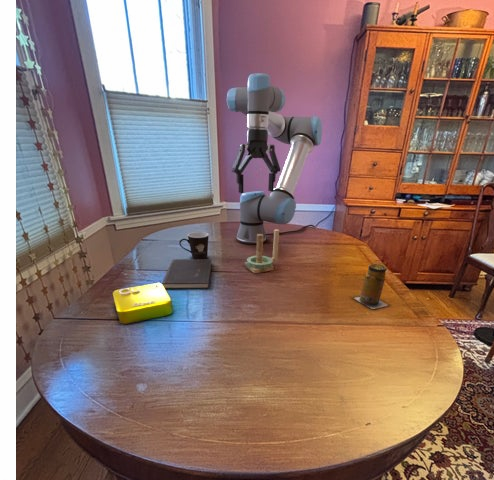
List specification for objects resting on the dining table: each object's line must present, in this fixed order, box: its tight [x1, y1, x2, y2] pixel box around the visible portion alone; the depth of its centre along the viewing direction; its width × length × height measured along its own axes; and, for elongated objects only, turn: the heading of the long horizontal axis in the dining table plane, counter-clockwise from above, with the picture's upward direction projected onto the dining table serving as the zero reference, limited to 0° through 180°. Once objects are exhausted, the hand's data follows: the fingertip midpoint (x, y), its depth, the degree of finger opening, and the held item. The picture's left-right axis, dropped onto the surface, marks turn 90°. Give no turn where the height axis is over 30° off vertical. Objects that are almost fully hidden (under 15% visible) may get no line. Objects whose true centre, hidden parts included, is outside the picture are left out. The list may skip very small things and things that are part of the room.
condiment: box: [353, 263, 389, 310], centre depth 95 cm, size 7×8×12 cm
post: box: [243, 234, 275, 274], centre depth 118 cm, size 9×9×14 cm
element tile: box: [112, 282, 174, 325], centre depth 89 cm, size 15×15×5 cm
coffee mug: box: [178, 231, 210, 259], centre depth 127 cm, size 12×9×10 cm
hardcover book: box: [161, 258, 213, 290], centre depth 112 cm, size 16×23×2 cm
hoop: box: [246, 228, 280, 269], centre depth 118 cm, size 13×10×13 cm
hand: (256, 192), depth 119 cm, fingers open, 13 cm apart
